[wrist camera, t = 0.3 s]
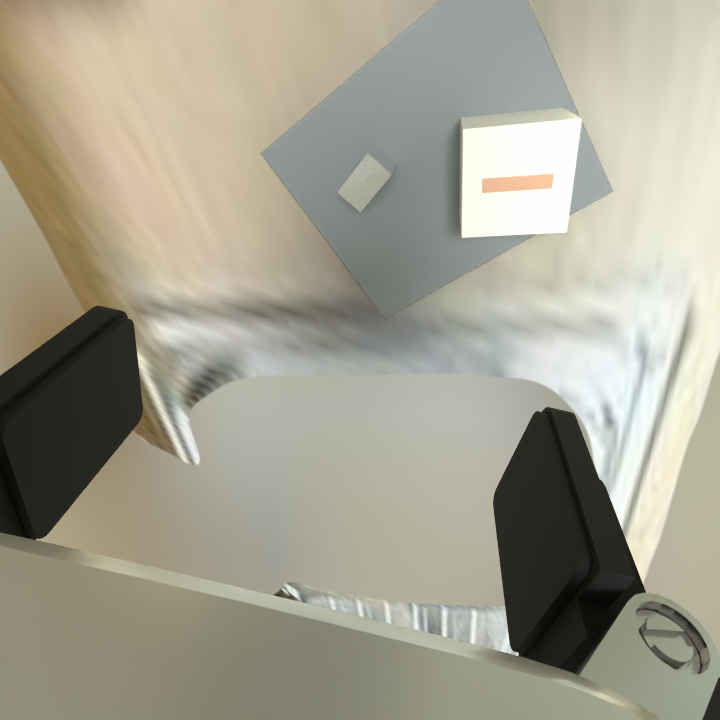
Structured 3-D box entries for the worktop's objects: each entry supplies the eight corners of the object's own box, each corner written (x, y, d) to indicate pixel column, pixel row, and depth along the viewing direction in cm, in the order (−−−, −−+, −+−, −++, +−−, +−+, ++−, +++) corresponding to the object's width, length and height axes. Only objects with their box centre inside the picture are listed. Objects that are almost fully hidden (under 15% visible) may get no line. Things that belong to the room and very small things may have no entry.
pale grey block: (374, 142, 33) (367, 153, 30) (396, 162, 33) (391, 174, 30) (346, 178, 35) (337, 192, 31) (367, 197, 35) (360, 212, 32)
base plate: (501, -51, 28) (504, -55, 26) (606, 185, 34) (613, 191, 33) (266, 149, 36) (260, 153, 34) (386, 310, 42) (384, 318, 41)
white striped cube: (563, 107, 30) (582, 118, 26) (551, 208, 34) (567, 233, 29) (460, 117, 31) (463, 129, 27) (459, 214, 35) (461, 238, 31)
